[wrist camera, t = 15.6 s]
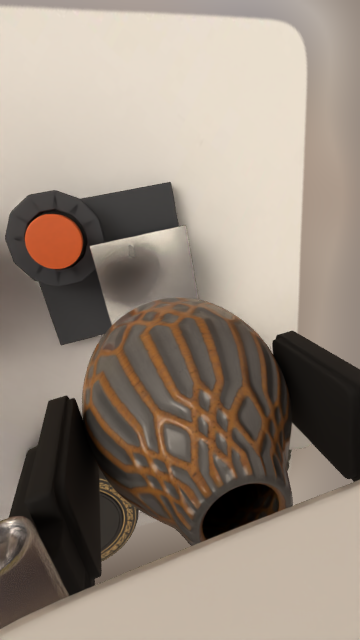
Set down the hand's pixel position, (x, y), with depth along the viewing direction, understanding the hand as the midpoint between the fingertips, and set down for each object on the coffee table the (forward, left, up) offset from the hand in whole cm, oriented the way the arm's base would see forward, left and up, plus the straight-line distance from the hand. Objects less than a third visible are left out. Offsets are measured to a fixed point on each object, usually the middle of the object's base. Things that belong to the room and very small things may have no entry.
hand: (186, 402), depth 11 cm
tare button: (-4, +5, -16) cm, 18 cm away
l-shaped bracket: (-1, +2, -19) cm, 19 cm away
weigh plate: (+2, +1, -16) cm, 16 cm away
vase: (0, 0, -4) cm, 4 cm away
